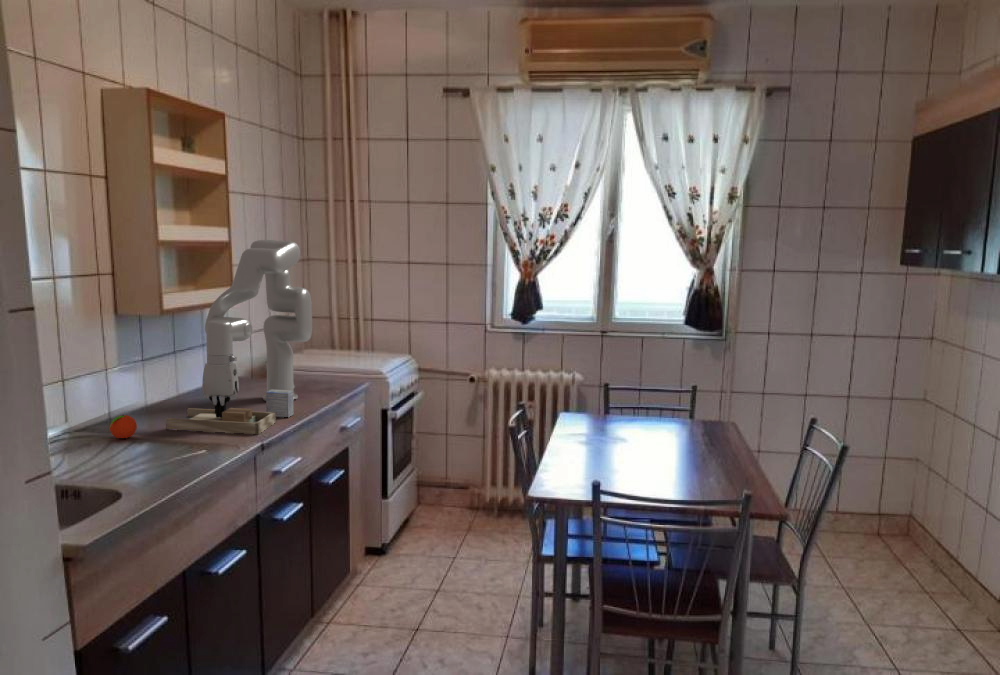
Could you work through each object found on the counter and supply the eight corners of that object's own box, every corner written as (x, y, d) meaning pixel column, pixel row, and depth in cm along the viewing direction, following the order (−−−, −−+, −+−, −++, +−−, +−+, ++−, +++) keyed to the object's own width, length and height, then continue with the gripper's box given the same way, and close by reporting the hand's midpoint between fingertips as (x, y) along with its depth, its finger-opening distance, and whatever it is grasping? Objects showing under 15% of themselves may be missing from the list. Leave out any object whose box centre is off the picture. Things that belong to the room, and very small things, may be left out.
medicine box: (293, 415, 231) (293, 390, 229) (288, 418, 226) (288, 393, 225) (271, 413, 231) (271, 389, 230) (265, 416, 227) (265, 391, 226)
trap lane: (189, 418, 221) (188, 408, 220) (275, 422, 220) (275, 412, 219) (166, 429, 207) (165, 418, 207) (258, 434, 206) (258, 423, 205)
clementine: (120, 444, 192) (119, 419, 191) (101, 441, 194) (100, 417, 193) (142, 436, 199) (141, 413, 198) (124, 434, 201) (123, 411, 200)
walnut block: (230, 416, 216) (230, 407, 215) (252, 418, 215) (252, 408, 215) (222, 421, 210) (221, 412, 209) (243, 422, 209) (243, 413, 209)
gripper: (248, 358, 214) (248, 415, 216) (202, 356, 215) (203, 412, 217) (237, 362, 206) (238, 420, 209) (190, 360, 207) (191, 418, 209)
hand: (220, 416), depth 213 cm, fingers closed
